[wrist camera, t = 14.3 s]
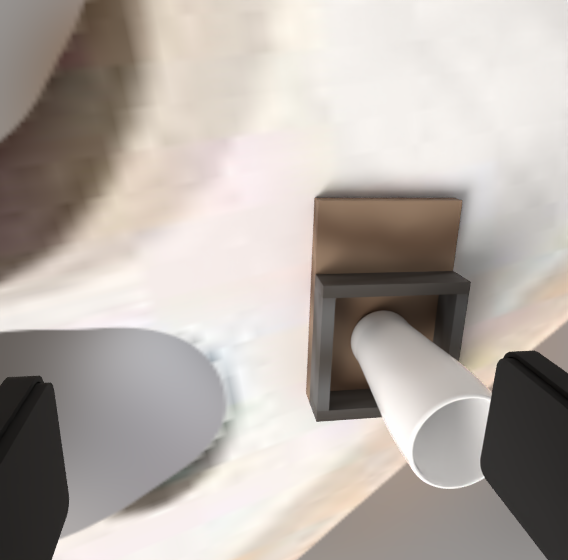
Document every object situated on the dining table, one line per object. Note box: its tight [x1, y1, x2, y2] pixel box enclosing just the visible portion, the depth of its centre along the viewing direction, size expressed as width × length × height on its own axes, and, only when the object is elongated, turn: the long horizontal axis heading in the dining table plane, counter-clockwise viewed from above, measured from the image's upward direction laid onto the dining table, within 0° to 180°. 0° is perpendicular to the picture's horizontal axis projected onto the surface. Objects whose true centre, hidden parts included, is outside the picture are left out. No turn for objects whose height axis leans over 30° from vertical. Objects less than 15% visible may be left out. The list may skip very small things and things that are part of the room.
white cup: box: [351, 310, 492, 489], centre depth 36 cm, size 7×7×15 cm
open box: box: [306, 198, 471, 422], centre depth 41 cm, size 18×12×4 cm, turn 179°
